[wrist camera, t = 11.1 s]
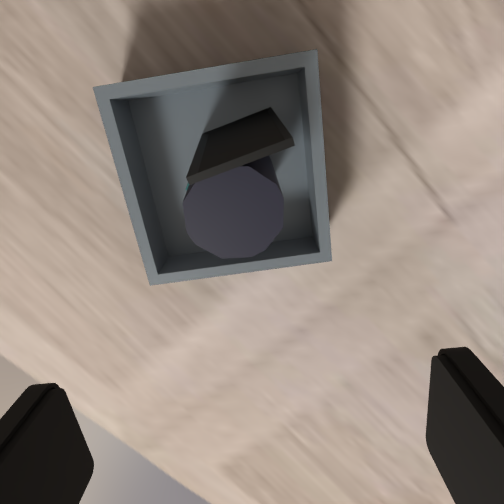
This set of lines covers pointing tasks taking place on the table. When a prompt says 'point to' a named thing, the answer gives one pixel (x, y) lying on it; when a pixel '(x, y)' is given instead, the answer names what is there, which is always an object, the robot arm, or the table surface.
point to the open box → (184, 147)
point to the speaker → (236, 187)
